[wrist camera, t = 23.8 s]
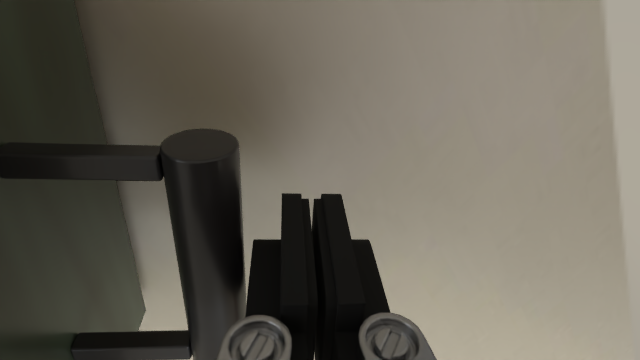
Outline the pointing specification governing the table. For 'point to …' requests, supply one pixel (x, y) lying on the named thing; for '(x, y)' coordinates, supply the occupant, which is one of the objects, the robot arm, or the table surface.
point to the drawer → (100, 210)
